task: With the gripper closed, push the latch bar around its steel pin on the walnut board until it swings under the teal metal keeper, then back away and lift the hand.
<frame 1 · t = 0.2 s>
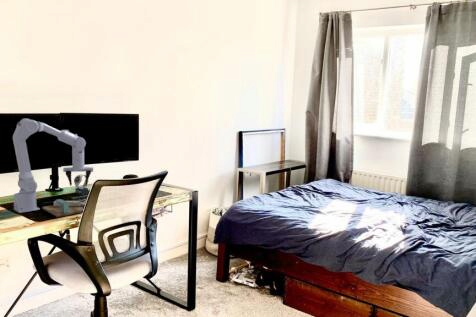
hand: (78, 185, 218), 9 cm above the table, tool pointing down, fingers open, 7 cm apart
watch: (81, 193, 237), on the table
board: (71, 208, 207), on the table
keeper: (65, 214, 198), resting on board
latch bar: (71, 202, 208), point 3 cm above the table, hinge at -35.0°
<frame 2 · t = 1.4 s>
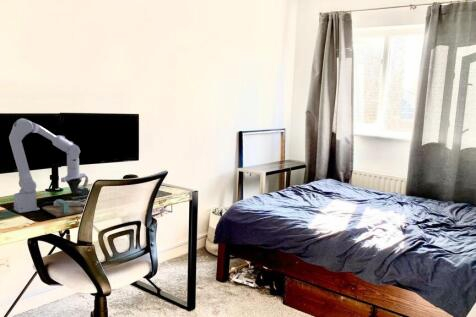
hand: (73, 193, 215), 6 cm above the table, tool pointing down, fingers closed
nothing on the table moved.
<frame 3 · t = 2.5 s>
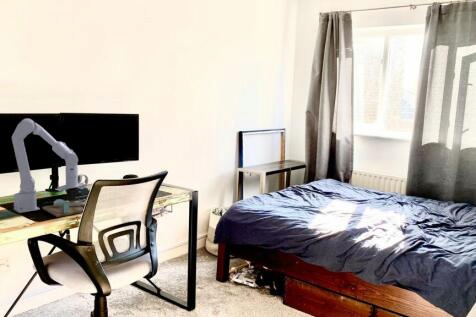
hand: (72, 202, 211), 2 cm above the table, tool pointing down, fingers closed
latch bar: (71, 202, 208), point 3 cm above the table, hinge at -35.0°, touching gripper
everything else where it was.
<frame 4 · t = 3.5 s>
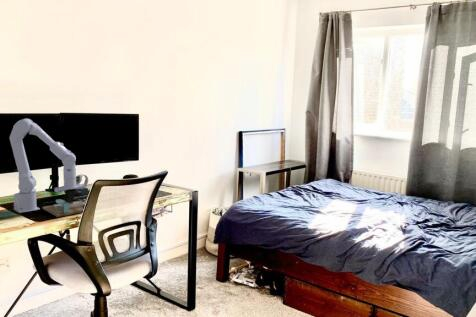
hand: (70, 204, 208), 2 cm above the table, tool pointing down, fingers closed, pressing on latch bar
latch bar: (71, 204, 206), point 3 cm above the table, hinge at -5.5°, touching gripper
everything else where it was.
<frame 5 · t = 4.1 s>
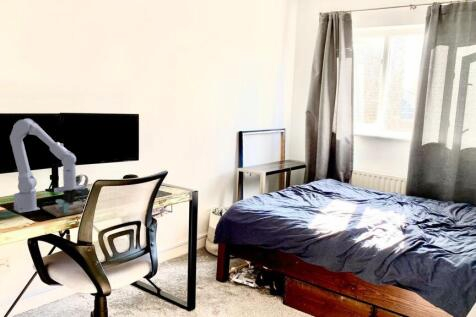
hand: (70, 204, 207), 2 cm above the table, tool pointing down, fingers closed
latch bar: (72, 204, 205), point 3 cm above the table, hinge at 5.9°, touching gripper
everything else where it was.
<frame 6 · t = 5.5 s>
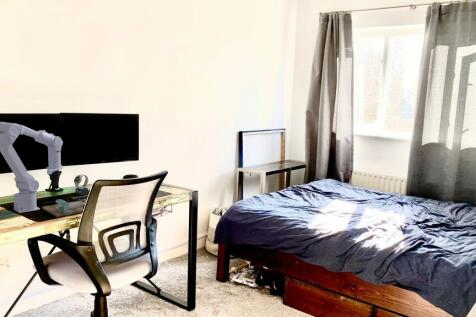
hand: (55, 185, 215), 9 cm above the table, tool pointing down, fingers closed
latch bar: (72, 204, 205), point 3 cm above the table, hinge at 5.9°
everything else where it was.
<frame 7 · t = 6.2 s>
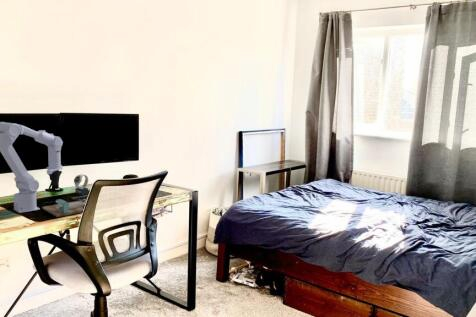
hand: (55, 185, 215), 9 cm above the table, tool pointing down, fingers closed
nothing on the table moved.
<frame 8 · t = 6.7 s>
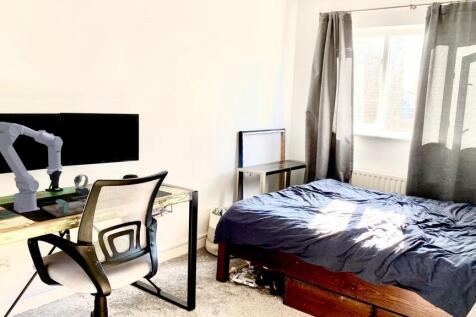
hand: (55, 185, 215), 9 cm above the table, tool pointing down, fingers closed
nothing on the table moved.
at the end: latch bar at +6° (first picture: -35°); the gripper is holding nothing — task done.
